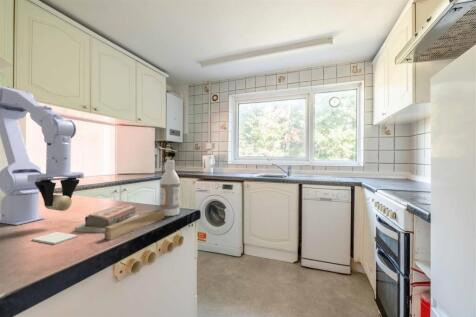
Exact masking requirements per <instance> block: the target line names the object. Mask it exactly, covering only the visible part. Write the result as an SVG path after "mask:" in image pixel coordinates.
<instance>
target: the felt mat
mask: <svg viewBox="0 0 476 317" xmlns="http://www.w3.org/2000/svg"><path fill="white" fill-rule="evenodd" d="M76 238H79V235H78V234H73V233H66V232H59V231H55V232H52V233H47V234H45V235H41V236H37V237H33V238H32V239H31V241H34V242H40V243H45V244H50V245H58V244H62V243H64V242H68V241H70V240H73V239H76Z"/></svg>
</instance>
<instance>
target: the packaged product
mask: <svg viewBox="0 0 476 317" xmlns="http://www.w3.org/2000/svg"><path fill="white" fill-rule="evenodd" d="M140 215H142V214H137V213H136V206H134V205H133V204H118V205H115V206H112V207H111V206H110V207H109V208H105V209H102V210H99V211H96V212H93V213H90V214H88V215H86V216H85V218H84V222H85V223H82V224H79V225H77V226H74V231H75V232H84V233H85V232H86V233H102V234H105V227H107V226H110V225H113V224H116V223H119V222H122V221H125V220H128V219H131V218H134V217H137V216H140Z"/></svg>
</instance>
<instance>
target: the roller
mask: <svg viewBox="0 0 476 317" xmlns="http://www.w3.org/2000/svg"><path fill="white" fill-rule="evenodd" d="M43 204H44V207H45V208H46V209H47V210H53V211H58V212H59V211H60V212H64V211H67V210H69V208H70V207H71V206H72V197H71V198H70V197H68V196H62V195H61V194H60V195H59V194H53V205H52V206H45V203H44V202H43Z"/></svg>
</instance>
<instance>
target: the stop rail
mask: <svg viewBox="0 0 476 317" xmlns="http://www.w3.org/2000/svg"><path fill="white" fill-rule="evenodd" d="M164 219H165V216H164V210H163V209H160V208H159V209H156V210H153V211H149V212H147V213H144V214H141V215H140V216H137V217H134V218H131V219H128V220H125V221H122V222H119V223H116V224H113V225H110V226H107V227H105V233H104V240H110V241H111V240H114V239H116V238H119V237H121V236H124V235H126V234H129V233H132V232H135V231H136V230H139V229H141V228H143V227H146V226H148V225H149V226H150V225H151V224H154V223H156V222H159V221H161V220H164Z"/></svg>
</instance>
